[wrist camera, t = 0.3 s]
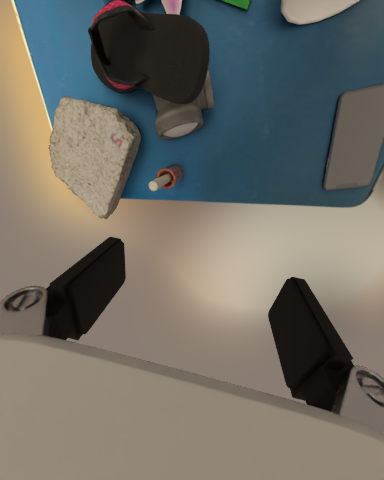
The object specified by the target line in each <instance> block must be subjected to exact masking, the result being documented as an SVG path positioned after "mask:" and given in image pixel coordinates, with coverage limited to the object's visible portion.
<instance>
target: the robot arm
mask: <svg viewBox="0 0 384 480" xmlns="http://www.w3.org/2000/svg"><path fill="white" fill-rule="evenodd" d="M124 281H125V255H124V243H123V242H122V241H121V239H118V238H113V237H109V238H108V239H106V240H105V241H104V242H103V243H101V244H100V245H99V246H97V247H96V248H95V249H94V250H92V251H91V252H90V253H89V254H87V255H86V256H85V257H83V258H82V259H81V260H80V261H78V262H77V263H76V264H75V265H73V266H72V267H71V268H69V269H68V270H67V271H65V272H64V273H63V274H62V275H60V276H59V277H58V278H56V279H55V280H54V281H53V282H51V283H50V286H49V287H48V288H46V289H45V288H43V287H40V286H30V287H25V288H21V289H19V290H16V291H14V292H12V293H11V294H9V295H7V296H6V297H5V298H4V299H3V300H2V301H1V302H0V480H384V379H383V378H382V377H381V376H379V375H378V374H377V373H375V372H373V371H372V370H370V369H368V368H366V367H363V366H358V365H357V366H354V365H353V363H352V362H351V360H352V359H353V357H352V356H351V354H350V352H349V351H348V349H347V348H346V346H345V344H344V343H343V341H342V339H341V338H340V336H339V335H338V333H337V331H336V330H335V328H334V326H333V325H332V323H331V322H330V320H329V319H328V317H327V315H326V314H325V312H324V311H323V309H322V307H321V305H320V304H319V302H318V301H317V299H316V297H315V296H314V294H313V293H312V291H311V289H310V287H309V286H308V284H307V283H306V281H305V280H304V279H299V278H295V277H291V278H290V279H287V280H286V282H285V284H284V285H283V287H282V289H281V291H280V293H279V295H278V296H277V298H276V300H275V302H274V303H273V305H272V307H271V309H270V310H269V314H268V317H269V321H270V325H271V329H272V333H273V336H274V340H275V344H276V348H277V351H278V355H279V359H280V363H281V367H282V370H283V374H284V378H285V382H286V385H287V387H289V388H290V390H291V393H292V397H293V398H297V399H301V400H304V401H305V400H306V403H307V405H306V404H303V403H300V402H296V401H293V400H289V399H286V398H282V397H278V396H275V395H272V394H268V393H264V392H260V391H257V390H253V389H249V388H246V387H242V386H238V385H235V384H231V383H228V382H224V381H220V380H216V379H213V378H208V377H205V376H201V375H198V374H194V373H190V372H187V371H183V370H179V369H175V368H171V367H168V366H164V365H160V364H156V363H153V362H149V361H145V360H141V359H137V358H134V357H130V356H126V355H122V354H118V353H114V352H111V351H107V350H103V349H99V348H95V347H91V346H87V345H83V344H79V343H75V342H71V341H66V339H67V338H71V339H75V340H78V339H79V338H80V337H81V336H82V334H86V333H87V332H88V331H89V329H90V328H91V327H92V325H93V324H94V323H95V321H96V320H97V319H98V317H99V316H100V314H101V313H102V312H103V310H104V309H105V308H106V306H107V305H108V304H109V302H110V301H111V299H112V298H113V297H114V295H115V294H116V293H117V291H118V290H119V289H120V287H121V286H122V285H123V283H124Z"/></svg>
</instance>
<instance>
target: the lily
mask: <svg viewBox="0 0 384 480" xmlns="http://www.w3.org/2000/svg"><path fill="white" fill-rule="evenodd" d="M143 1H144V0H136V4H139V3H141V2H143ZM161 2H162V4H163V6H164V8H165V11H166V13H167V14H178V15H180V10H181V4H182V0H161Z"/></svg>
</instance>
